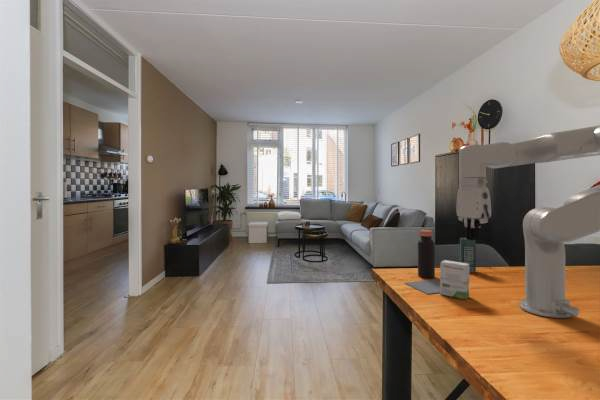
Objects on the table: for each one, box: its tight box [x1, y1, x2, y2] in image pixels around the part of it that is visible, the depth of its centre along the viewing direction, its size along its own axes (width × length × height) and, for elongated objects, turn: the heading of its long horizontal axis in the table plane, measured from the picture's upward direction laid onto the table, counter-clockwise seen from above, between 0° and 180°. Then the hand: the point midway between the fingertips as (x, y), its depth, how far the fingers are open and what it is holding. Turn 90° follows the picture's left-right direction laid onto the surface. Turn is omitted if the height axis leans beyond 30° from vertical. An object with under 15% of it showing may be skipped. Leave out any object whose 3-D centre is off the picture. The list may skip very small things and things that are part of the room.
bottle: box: [417, 229, 436, 279], centre depth 131 cm, size 7×7×20 cm
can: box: [459, 237, 477, 273], centre depth 140 cm, size 6×6×15 cm
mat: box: [404, 278, 440, 295], centre depth 117 cm, size 14×16×1 cm
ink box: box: [439, 259, 470, 301], centre depth 106 cm, size 8×5×12 cm, turn 50°
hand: (472, 239), depth 98 cm, fingers closed
